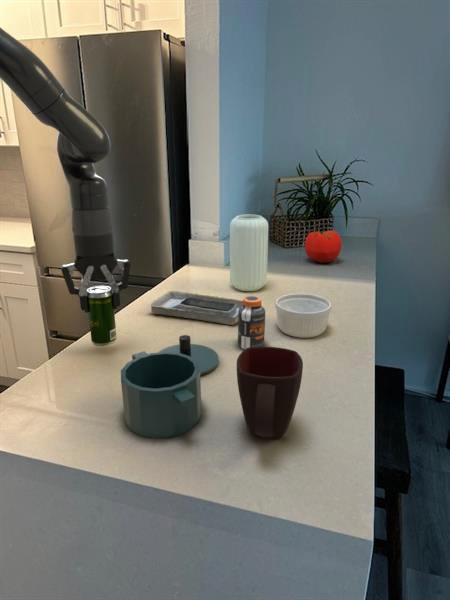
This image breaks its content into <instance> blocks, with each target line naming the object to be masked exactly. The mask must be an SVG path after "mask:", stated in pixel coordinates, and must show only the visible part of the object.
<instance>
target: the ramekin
mask: <svg viewBox="0 0 450 600" xmlns="http://www.w3.org/2000/svg"><path fill="white" fill-rule="evenodd" d="M274 308H275V310H276V312H275V313H276V323H277V326H278V328H279V330H280V331H281V332H282V333H284V334H285V335H288V336H290V337H294V338H300V339H302V338H303V339H309V338H314V337H315V338H316V337H318V336H320V335H322V334H323V333H324V332H325V331H326V329H327V325H328V321H329V316H330V312H332V303H331V302H330V300H329V299H327V298H325V297H323V296H320V295H317V294H311V293H301V292H299V293H288V294H284V295H281V296H278V297H277V299H275V303H274Z"/></svg>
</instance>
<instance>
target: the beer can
mask: <svg viewBox="0 0 450 600" xmlns="http://www.w3.org/2000/svg"><path fill="white" fill-rule="evenodd" d="M86 296H87V304H88V313H87V314H88V322H89V331H90V332H89V333H90V339H91V342H92V344H93V345H94V346H97V347H107V346H111V345H113V344H115V342H116V340H117V338H118V337H117V326H116V314H115V309H114V303H113V293H112V288H111V286H108V285H96V286H91V287H88V288H87V290H86Z"/></svg>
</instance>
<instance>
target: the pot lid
mask: <svg viewBox="0 0 450 600" xmlns="http://www.w3.org/2000/svg"><path fill="white" fill-rule="evenodd" d="M191 340H192V339H191V335H188V334H183V335H180V336H179V337H178V343H179V344H175V345H171V346H168V347H165V348H163V349H161V350H159V351H158V352H157V353H159V352H175V353H181V354H184V355H187V356H190V357H192V358H193V359H194V360H196V361H197V362H198V364H199V367H200V376H202V375H204V374H207V373H209V372H211V371H212V370H214V369H215V368H216V367H217V365H218V364H219V354H218V353H217V352H216V351H215V350H214V349H213V348H210V347H209V346H207V345H203V344H195V343H192V342H191Z"/></svg>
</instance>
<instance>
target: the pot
mask: <svg viewBox="0 0 450 600" xmlns="http://www.w3.org/2000/svg"><path fill="white" fill-rule="evenodd" d="M158 352H159V351H158ZM158 352H150V353H147V352H146V351H140V352H137V353H133V354H132V355H131V358H132V360H130V361H128V362H127V363H125V364H124V366H123V367H122V369H121V370H120V385H121V394H122V403H123V404H122V405H123V414H124V421H125V424H126V426H127V427H128V429H129V430H130V431H131V432H133V433H135V434H137V435H138V436H141V437H143V438H144V437H145V438H150V439H163V438H164V439H165V438H171V437H176V436H179V435H181V434H183V433H186V432H188V431H189V430H191V429H192V428H193V427H195V425H197V423H198V422H199V420H200V419H201V415H202V387H201V386H202V384H201V383H202V382H201V375H200V367H199V364H198V362H197V361H196V360H194V359H193V358H192V357H190V356H187V355H184V354H181V353H175V352H159V353H158Z"/></svg>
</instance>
